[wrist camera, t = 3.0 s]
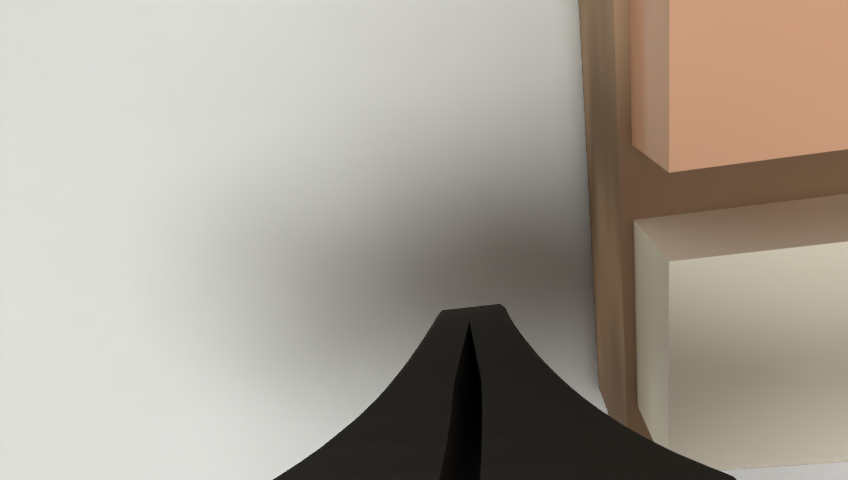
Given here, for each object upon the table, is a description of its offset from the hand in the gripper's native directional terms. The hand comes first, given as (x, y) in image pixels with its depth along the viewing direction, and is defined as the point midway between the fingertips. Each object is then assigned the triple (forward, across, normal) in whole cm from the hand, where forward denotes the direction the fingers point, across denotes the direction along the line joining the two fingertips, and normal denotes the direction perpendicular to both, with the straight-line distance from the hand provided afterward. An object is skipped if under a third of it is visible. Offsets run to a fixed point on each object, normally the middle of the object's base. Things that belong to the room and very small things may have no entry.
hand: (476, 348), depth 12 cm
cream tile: (0, -6, 0) cm, 6 cm away
